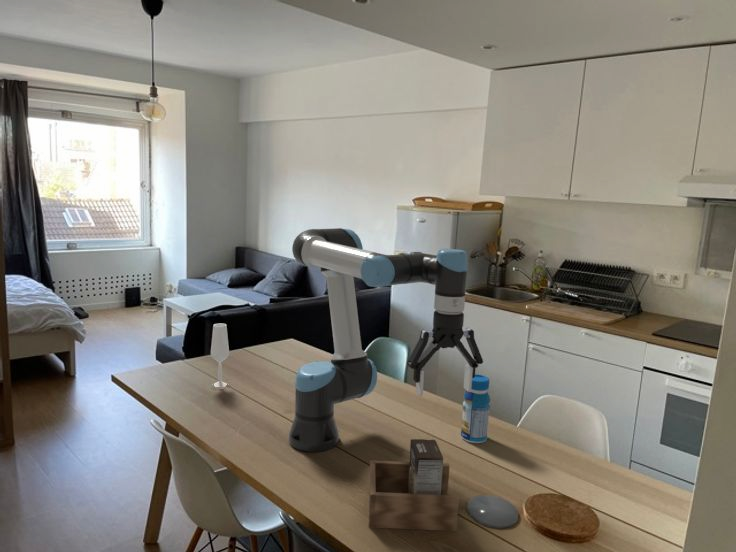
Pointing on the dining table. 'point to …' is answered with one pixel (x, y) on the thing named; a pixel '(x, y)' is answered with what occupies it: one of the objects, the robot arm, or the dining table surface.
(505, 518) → the slate coaster
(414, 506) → the walnut u-shaped stand
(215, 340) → the champagne flute
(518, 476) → the dining table surface
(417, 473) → the coffee box
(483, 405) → the beverage bottle
